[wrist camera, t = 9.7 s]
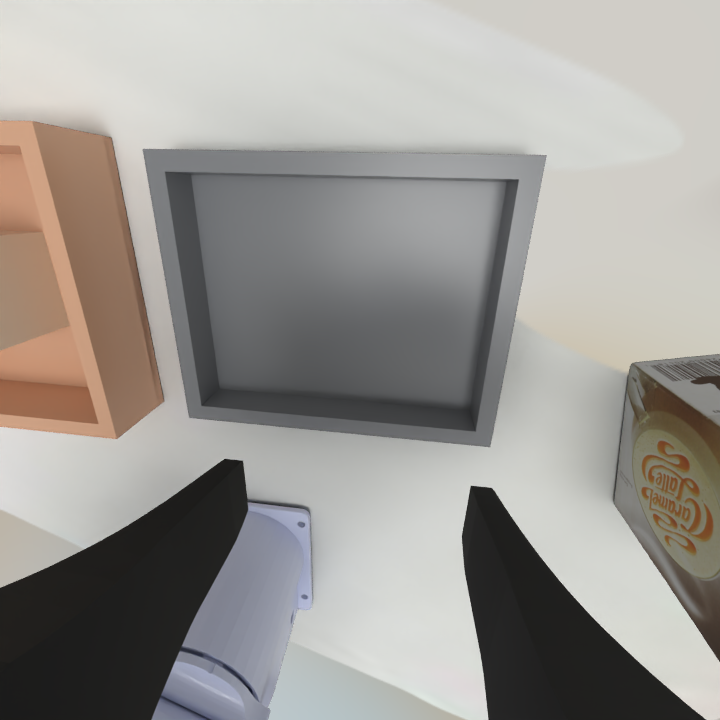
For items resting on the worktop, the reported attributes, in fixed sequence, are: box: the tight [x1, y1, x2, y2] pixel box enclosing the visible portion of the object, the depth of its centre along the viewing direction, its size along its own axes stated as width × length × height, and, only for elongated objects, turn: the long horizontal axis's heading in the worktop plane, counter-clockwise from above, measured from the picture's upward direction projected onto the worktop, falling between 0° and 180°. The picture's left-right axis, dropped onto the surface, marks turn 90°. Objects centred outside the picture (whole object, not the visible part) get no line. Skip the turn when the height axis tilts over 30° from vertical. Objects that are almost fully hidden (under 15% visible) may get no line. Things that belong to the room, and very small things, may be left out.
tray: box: [143, 149, 547, 447], centre depth 18 cm, size 13×16×2 cm
